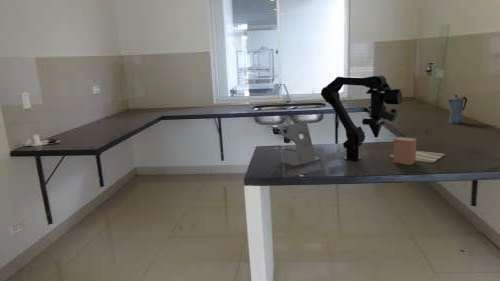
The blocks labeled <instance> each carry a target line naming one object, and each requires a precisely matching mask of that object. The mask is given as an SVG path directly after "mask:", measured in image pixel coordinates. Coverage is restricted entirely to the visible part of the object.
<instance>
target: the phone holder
mask: <svg viewBox="0 0 500 281" xmlns="http://www.w3.org/2000/svg"><path fill="white" fill-rule="evenodd" d="M284 129H285V131H286V132H284ZM279 131H280V135H281V136H282V137H284V138H286V139H288V140H290V141H291V142H293V143H294V145H295V149H292V148H288V147H287V148H283V149H282V161H281V162H282V163H284V164H287V165H290V166H293V167H294V166H300V165H304V164H308V163H312V162H316V161H320V157H317V156H316V154H315V150H314V145H313V142H312V138H311V134H310V129H309V127H308V124H307V123H306V122H299V123H293V124H288V125H283V126H281V127H280V130H279ZM300 135H302V138H300Z"/></svg>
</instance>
